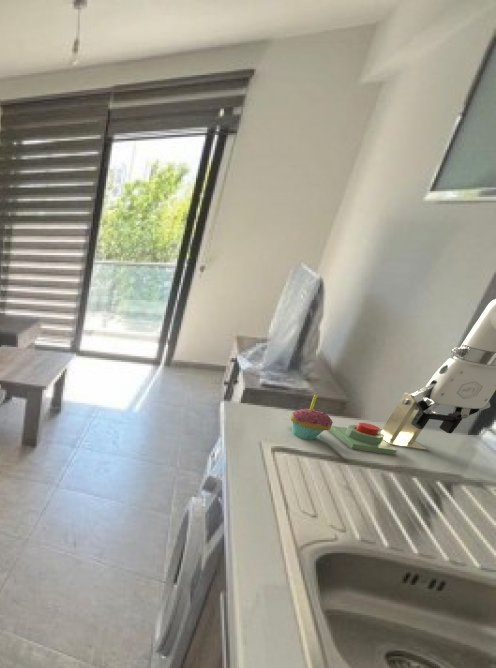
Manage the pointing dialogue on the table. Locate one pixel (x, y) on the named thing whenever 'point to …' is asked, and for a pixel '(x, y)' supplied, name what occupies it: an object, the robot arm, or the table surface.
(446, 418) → the lever
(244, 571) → the table surface
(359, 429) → the button
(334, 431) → the button box
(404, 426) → the bracket
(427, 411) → the robot arm
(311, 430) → the cupcake
